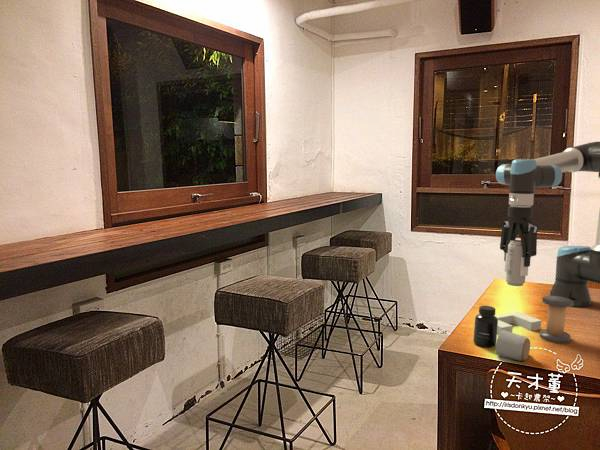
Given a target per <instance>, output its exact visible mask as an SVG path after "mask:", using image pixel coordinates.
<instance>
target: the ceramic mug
mask: <svg viewBox="0 0 600 450" xmlns="http://www.w3.org/2000/svg"><path fill="white" fill-rule="evenodd" d="M530 351H531V340H530V339H529V338H528V337H526V336H523V335H520V334H517V333H514V332H512V333H511V332H508V331H505V330H502V331H501V332H500V333H499V335H497V339H496V345H495V355H497V356H498V357H504V358H508V359H511V360H515V361H519V362H524V361H526V360H527V359H528V357H529V354H530Z"/></svg>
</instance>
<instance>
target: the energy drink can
mask: <svg viewBox="0 0 600 450" xmlns="http://www.w3.org/2000/svg"><path fill="white" fill-rule="evenodd" d="M522 256H523V250H522V244H521V239H515V240H510V243H509V245H508V254H507V269H506V272H505V283H507V285H509V286H512V287H522V286H524V284H525V283H526V276H520V268H521V257H522Z"/></svg>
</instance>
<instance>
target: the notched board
mask: <svg viewBox="0 0 600 450" xmlns="http://www.w3.org/2000/svg"><path fill="white" fill-rule="evenodd" d="M494 316H495V317H497V319H498V327H497V336H498V335H499V333H500V332H501V331H502V330H505V331H508V332H511V333H513V327H514V325H515V326H518V327H521V328H522V327H523V329H525V330H527V329H528V331H530V330H533V331H537V329H538V330H542V320H541V319H538V318H536V317H533V316H531V315H527V314H524V313H522V312H520V311H518V312H511V313H506V314H498V315H494ZM512 324H513V325H512Z"/></svg>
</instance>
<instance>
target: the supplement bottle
mask: <svg viewBox="0 0 600 450" xmlns="http://www.w3.org/2000/svg"><path fill="white" fill-rule="evenodd" d="M478 309H479V310H478V314H475V318H474V327H473V328H474V329H473V343H474V344H475V345H476V346H479V347H480V348H494V347H496V342H497V338H498V335H497V327H498V319H497V317H495V316H496V308H495V307H493V306H491V305H480V306H479V308H478Z"/></svg>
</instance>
